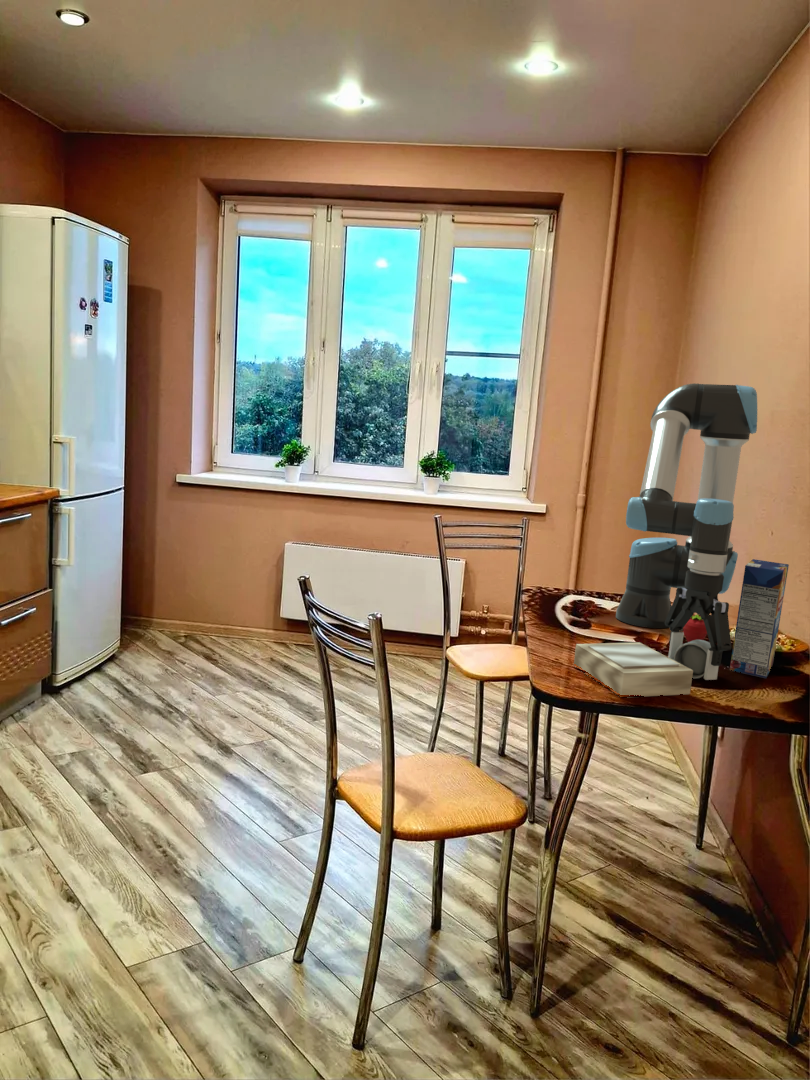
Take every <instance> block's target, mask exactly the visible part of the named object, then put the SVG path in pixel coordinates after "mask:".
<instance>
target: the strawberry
mask: <svg viewBox="0 0 810 1080" xmlns="http://www.w3.org/2000/svg"><path fill="white" fill-rule="evenodd" d="M683 630H684V631H682V632H683V633H684V636H683V637H685V640H686V643H688V642H690V641H693V640H704V639H706V636H708V635H707V631H706V627H705V624H704V621H703V620H702V619H701V616H700V615H698V614H694V615H692V617H691V618H690V619H689V621H688V622H687V623H686V625H685V626H684V627H683ZM704 641H705V640H704Z"/></svg>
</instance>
